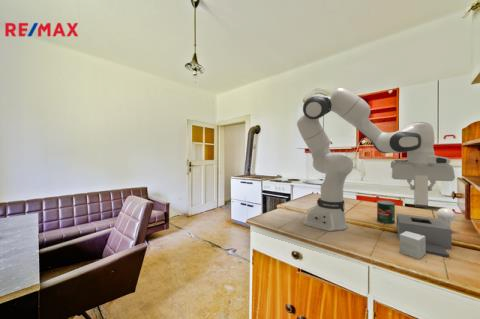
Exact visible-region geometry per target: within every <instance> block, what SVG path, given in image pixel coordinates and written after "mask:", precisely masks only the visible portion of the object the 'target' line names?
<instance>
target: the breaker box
mask: <svg viewBox="0 0 480 319" xmlns="http://www.w3.org/2000/svg"><path fill="white" fill-rule="evenodd" d="M395 218H396V232H397V236H398V240H399V241H400V234H402V233H404V232H405V231H408V232H412V233H416V234H419V235H423V236H425V244H430V245H436V246H441V247H444V248H445V249H446V250H452V237H453V236H452V235H453V234H452V229H451V226H450V227H449V226H448V225H447V224H446V223H445V222H444V221H443V220H442V219H440V218H438V217H431V216H430V217H429V216H423V215H422V216H421V215H416V214H415V215H414V214H404V213H395Z"/></svg>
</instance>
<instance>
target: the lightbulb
mask: <svg viewBox="0 0 480 319" xmlns="http://www.w3.org/2000/svg"><path fill="white" fill-rule="evenodd" d="M456 217H457V215H456V213H455V211H453V210H452V209H451V208H448V207H447V208H446V207H442V208H439V209H438V210H436V218H440V219H442V220H443V221H444V222H445V223H446V224H447V225H448V226H449V227H450V228H451V226H452V223H453V222H454V221H455V219H456Z"/></svg>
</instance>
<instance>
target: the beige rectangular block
mask: <svg viewBox="0 0 480 319" xmlns="http://www.w3.org/2000/svg"><path fill="white" fill-rule="evenodd" d="M413 185H414V186H415V190H413V204H414V206H415V207H417V208H418V207H419V208H429V191H428V186H429V180H428V176H421V175H415V180H413Z"/></svg>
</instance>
